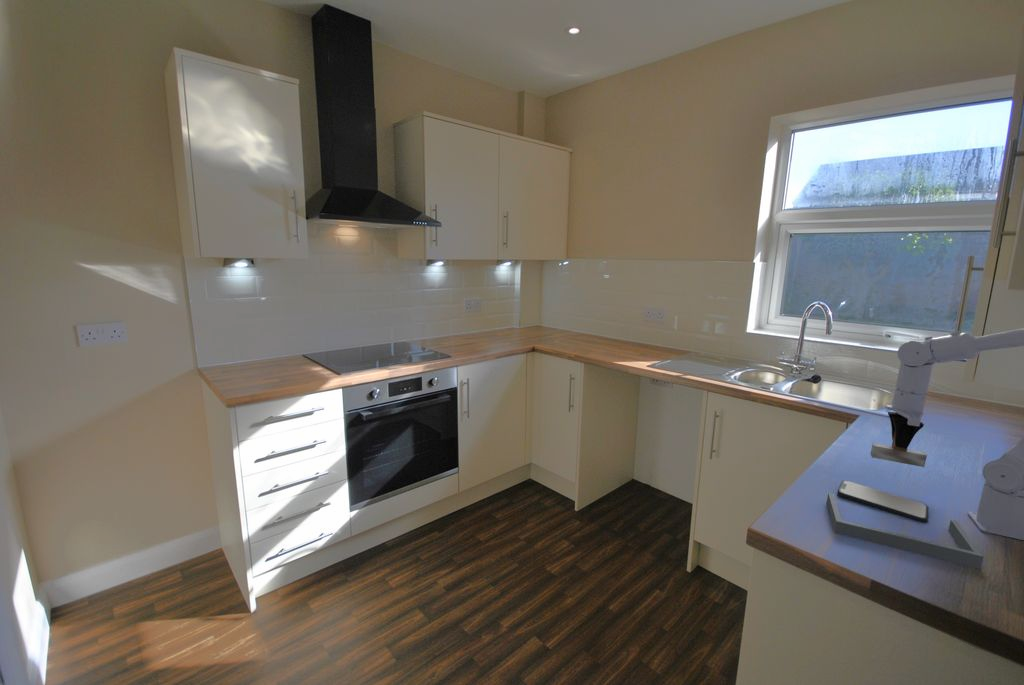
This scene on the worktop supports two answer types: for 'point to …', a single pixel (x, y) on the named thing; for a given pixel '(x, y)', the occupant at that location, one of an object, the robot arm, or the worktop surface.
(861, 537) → the dock
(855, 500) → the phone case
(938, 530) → the worktop surface
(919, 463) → the scraper
